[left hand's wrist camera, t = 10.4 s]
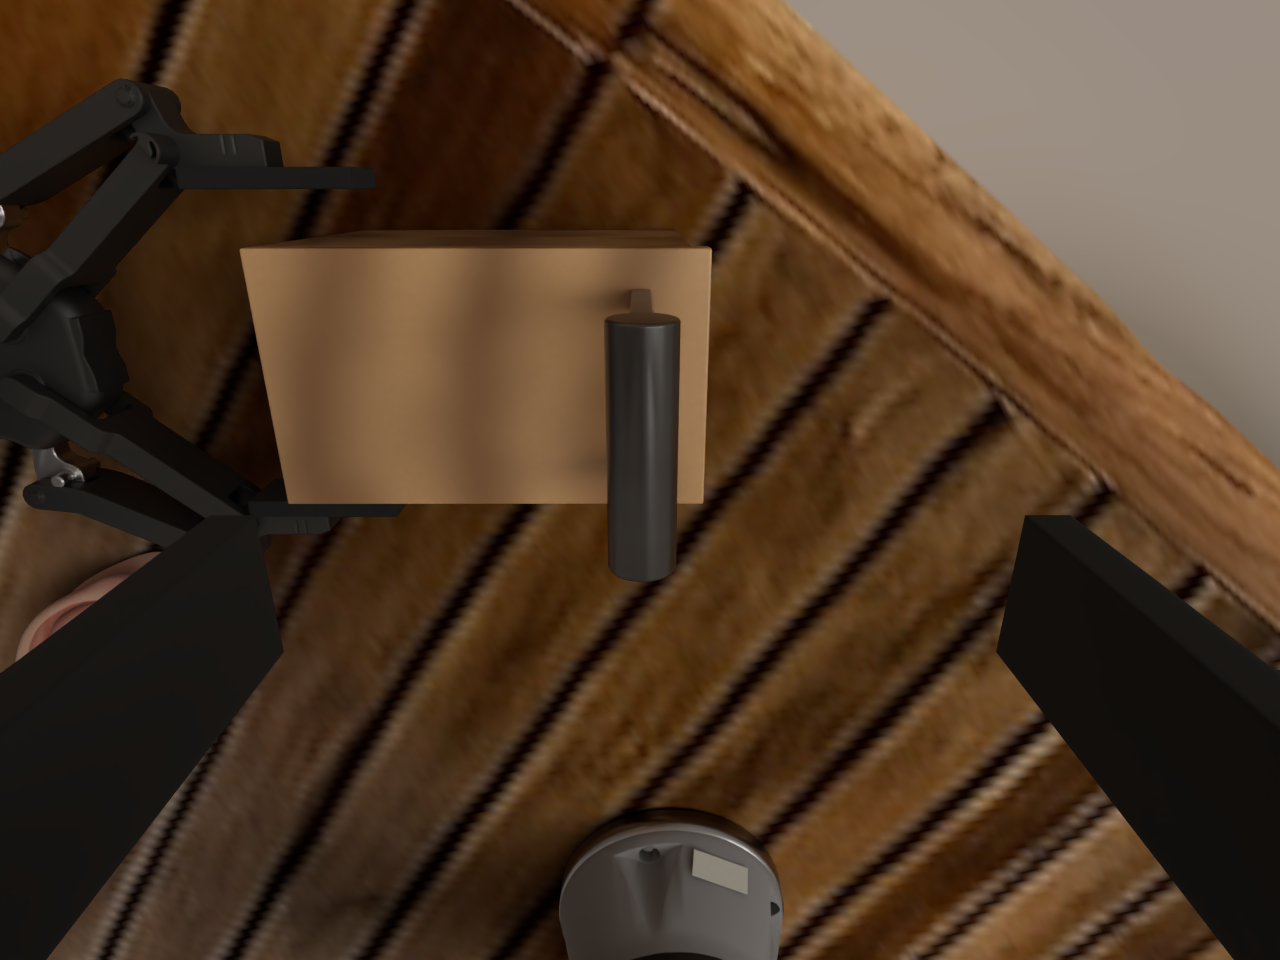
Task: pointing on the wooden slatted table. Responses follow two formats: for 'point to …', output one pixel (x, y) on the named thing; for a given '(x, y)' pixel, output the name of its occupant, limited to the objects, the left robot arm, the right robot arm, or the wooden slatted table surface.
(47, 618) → the anatomical model
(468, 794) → the wooden slatted table surface
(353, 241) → the chest
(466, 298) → the lid
